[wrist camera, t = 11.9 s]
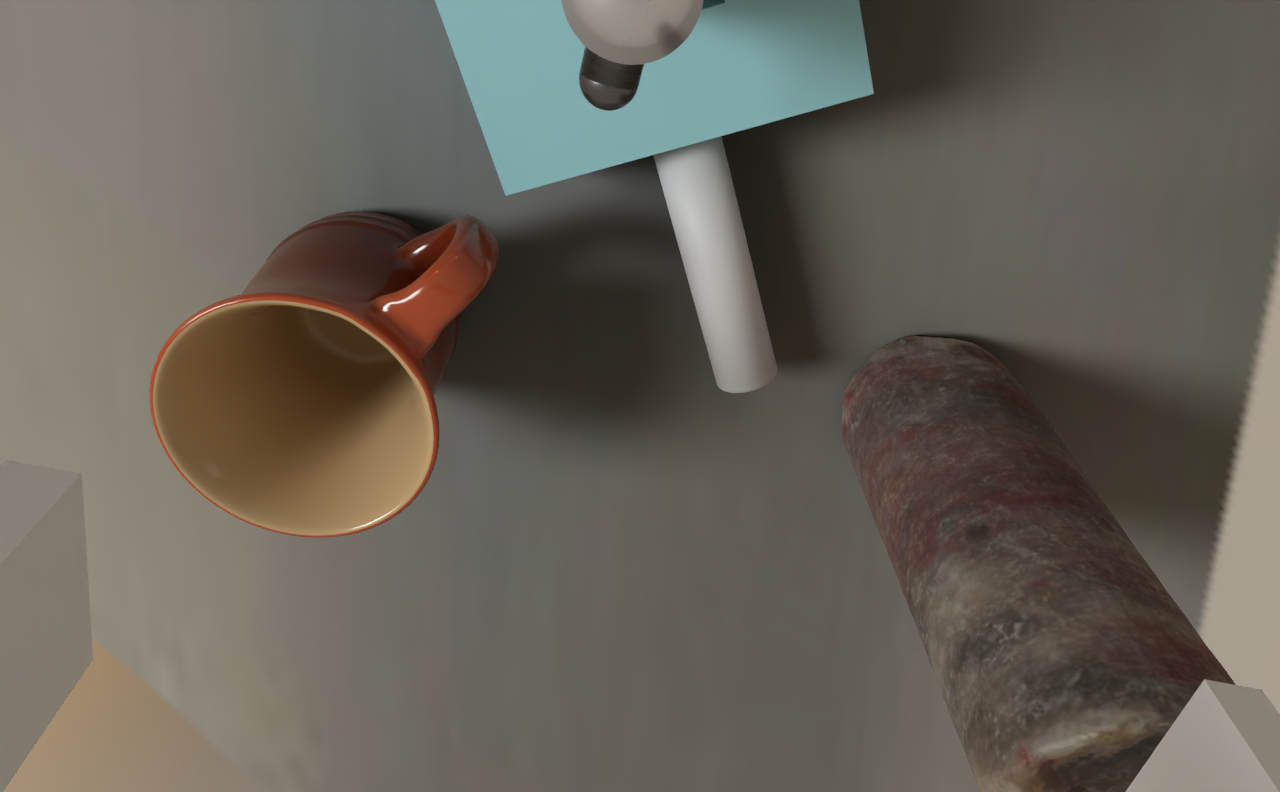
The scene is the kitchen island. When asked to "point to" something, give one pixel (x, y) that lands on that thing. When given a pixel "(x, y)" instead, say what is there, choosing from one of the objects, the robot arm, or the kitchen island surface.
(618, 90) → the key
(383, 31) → the kitchen island surface
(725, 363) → the chuck block
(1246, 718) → the robot arm
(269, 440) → the mug
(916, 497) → the brown mottled cylinder
